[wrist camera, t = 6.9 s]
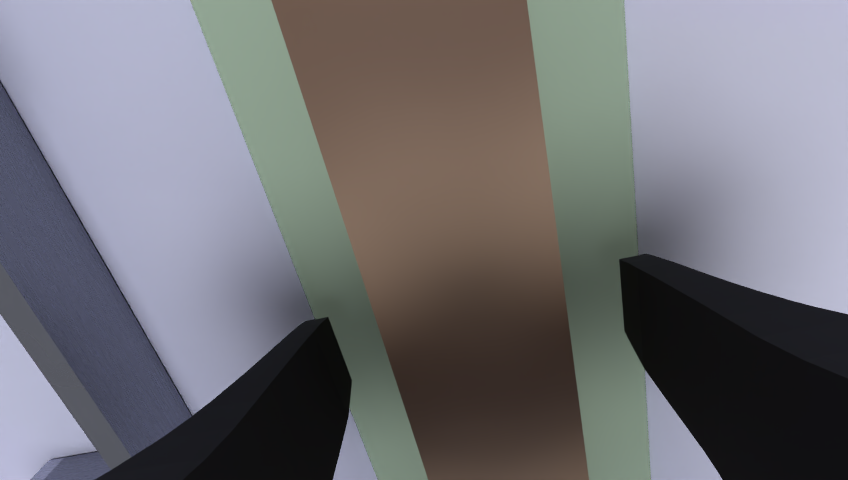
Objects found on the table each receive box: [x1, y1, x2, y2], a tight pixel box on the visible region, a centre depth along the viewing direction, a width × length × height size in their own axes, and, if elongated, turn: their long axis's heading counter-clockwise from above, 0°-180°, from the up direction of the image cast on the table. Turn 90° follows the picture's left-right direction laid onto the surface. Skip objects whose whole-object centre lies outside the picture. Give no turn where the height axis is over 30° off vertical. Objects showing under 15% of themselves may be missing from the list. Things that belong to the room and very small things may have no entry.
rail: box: [271, 0, 589, 480], centre depth 10 cm, size 18×4×4 cm, turn 13°
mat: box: [190, 0, 651, 480], centre depth 12 cm, size 20×9×1 cm, turn 13°
